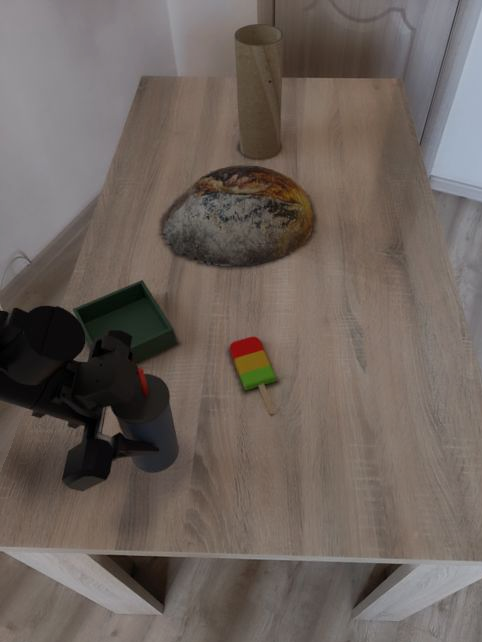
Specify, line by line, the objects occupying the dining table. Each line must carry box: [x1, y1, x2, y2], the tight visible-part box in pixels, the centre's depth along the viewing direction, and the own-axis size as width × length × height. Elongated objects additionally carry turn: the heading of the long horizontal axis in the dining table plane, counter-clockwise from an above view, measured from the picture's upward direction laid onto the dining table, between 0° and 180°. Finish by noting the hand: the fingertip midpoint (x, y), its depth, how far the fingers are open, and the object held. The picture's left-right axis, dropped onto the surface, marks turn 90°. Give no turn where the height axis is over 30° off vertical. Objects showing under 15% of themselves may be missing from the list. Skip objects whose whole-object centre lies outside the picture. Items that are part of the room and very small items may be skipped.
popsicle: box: [229, 336, 277, 415], centre depth 79 cm, size 6×15×2 cm, turn 20°
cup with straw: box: [110, 367, 180, 474], centre depth 59 cm, size 7×7×18 cm
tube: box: [234, 23, 284, 160], centre depth 107 cm, size 10×10×25 cm
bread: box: [162, 164, 315, 267], centre depth 98 cm, size 27×32×10 cm
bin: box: [72, 279, 178, 365], centre depth 83 cm, size 13×13×4 cm
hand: (160, 425), depth 60 cm, fingers closed on cup with straw, 6 cm apart
